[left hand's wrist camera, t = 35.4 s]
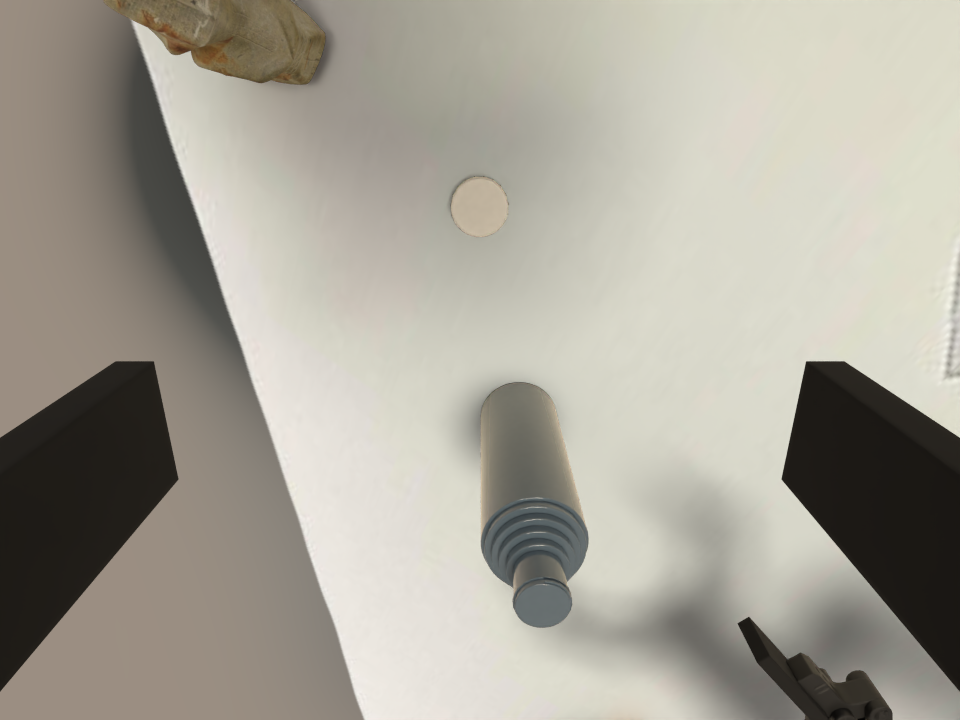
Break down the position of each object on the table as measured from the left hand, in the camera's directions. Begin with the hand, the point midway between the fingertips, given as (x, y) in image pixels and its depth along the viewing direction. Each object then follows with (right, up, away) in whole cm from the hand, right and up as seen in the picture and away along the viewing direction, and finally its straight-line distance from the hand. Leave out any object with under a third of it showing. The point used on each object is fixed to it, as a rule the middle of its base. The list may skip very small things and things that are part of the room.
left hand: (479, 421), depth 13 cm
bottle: (+3, -4, +39) cm, 39 cm away
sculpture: (-13, +23, +28) cm, 39 cm away
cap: (0, +12, +31) cm, 33 cm away
